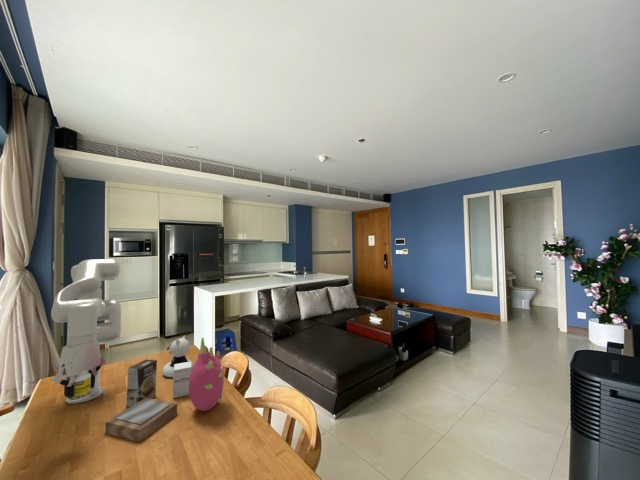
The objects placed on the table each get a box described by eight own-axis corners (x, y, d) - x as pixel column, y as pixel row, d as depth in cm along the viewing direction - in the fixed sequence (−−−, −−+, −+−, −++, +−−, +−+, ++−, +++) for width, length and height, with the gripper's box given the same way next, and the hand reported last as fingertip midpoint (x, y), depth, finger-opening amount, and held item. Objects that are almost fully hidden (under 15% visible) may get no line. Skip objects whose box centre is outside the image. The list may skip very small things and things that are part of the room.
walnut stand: (105, 433, 92) (105, 420, 93) (146, 407, 108) (146, 396, 108) (139, 442, 88) (139, 429, 88) (177, 413, 104) (177, 402, 104)
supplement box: (172, 399, 114) (173, 370, 114) (173, 391, 120) (173, 363, 121) (191, 394, 117) (191, 366, 118) (190, 387, 124) (191, 360, 124)
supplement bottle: (71, 403, 85) (73, 373, 85) (66, 398, 88) (67, 369, 88) (92, 396, 89) (93, 367, 90) (87, 391, 92) (88, 363, 93)
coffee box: (138, 408, 107) (139, 368, 108) (125, 406, 109) (127, 367, 109) (156, 396, 116) (157, 359, 117) (144, 394, 117) (145, 358, 118)
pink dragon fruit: (227, 415, 103) (229, 339, 104) (189, 426, 96) (191, 345, 97) (219, 393, 118) (221, 327, 119) (186, 402, 111) (188, 332, 112)
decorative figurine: (170, 366, 146) (171, 331, 146) (197, 365, 147) (197, 330, 148) (156, 379, 131) (157, 340, 132) (186, 378, 132) (187, 339, 133)
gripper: (101, 330, 99) (99, 378, 98) (42, 346, 82) (39, 404, 81) (115, 332, 97) (113, 381, 96) (58, 349, 80) (56, 408, 79)
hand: (79, 391), depth 89 cm, fingers closed on supplement bottle, 5 cm apart
